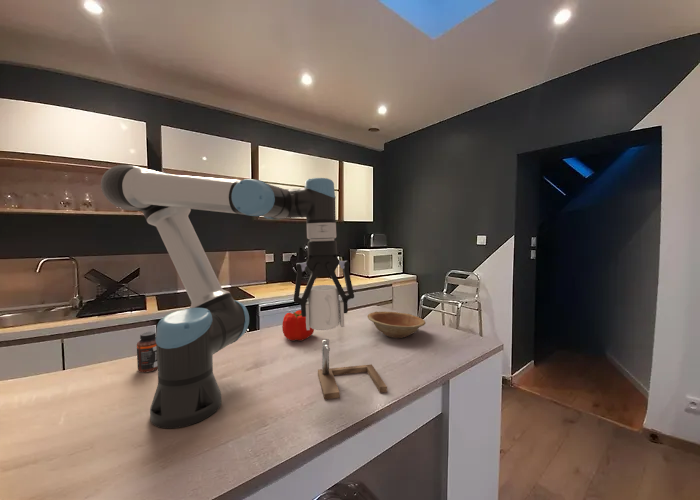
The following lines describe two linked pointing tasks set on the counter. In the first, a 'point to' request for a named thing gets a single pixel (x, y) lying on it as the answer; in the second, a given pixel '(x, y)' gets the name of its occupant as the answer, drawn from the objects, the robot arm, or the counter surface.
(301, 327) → the red lobed round piece
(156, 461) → the counter surface
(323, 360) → the hook post
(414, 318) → the bowl
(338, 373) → the brown wooden u-shaped piece
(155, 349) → the supplement bottle
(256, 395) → the counter surface
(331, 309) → the mug
